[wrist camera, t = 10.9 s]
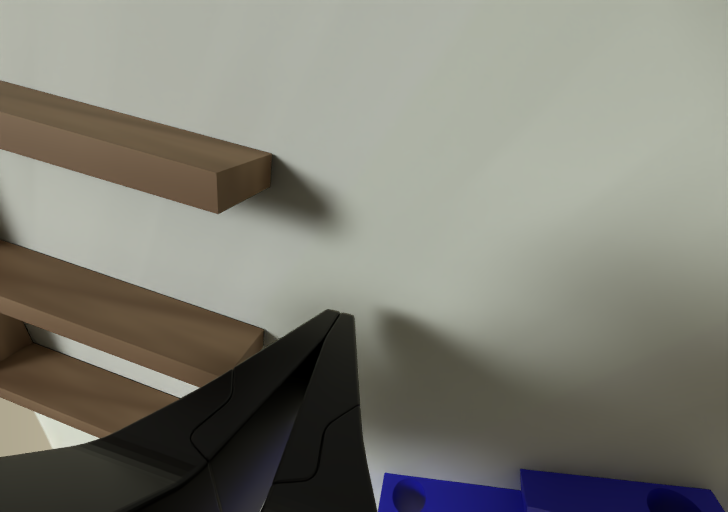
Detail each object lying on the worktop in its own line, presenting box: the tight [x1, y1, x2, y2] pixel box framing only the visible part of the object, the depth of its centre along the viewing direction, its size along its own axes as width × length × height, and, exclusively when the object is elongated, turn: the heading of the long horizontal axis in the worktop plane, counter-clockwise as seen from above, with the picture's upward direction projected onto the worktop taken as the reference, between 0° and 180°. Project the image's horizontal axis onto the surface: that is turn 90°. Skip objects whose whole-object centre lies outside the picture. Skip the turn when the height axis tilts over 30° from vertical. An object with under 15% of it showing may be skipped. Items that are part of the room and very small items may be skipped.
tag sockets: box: [0, 81, 272, 438], centre depth 13 cm, size 15×20×2 cm
